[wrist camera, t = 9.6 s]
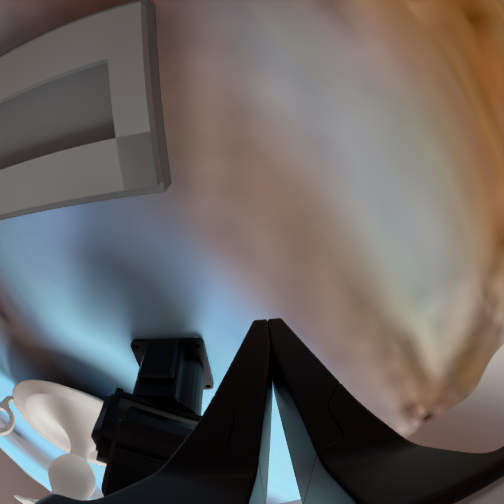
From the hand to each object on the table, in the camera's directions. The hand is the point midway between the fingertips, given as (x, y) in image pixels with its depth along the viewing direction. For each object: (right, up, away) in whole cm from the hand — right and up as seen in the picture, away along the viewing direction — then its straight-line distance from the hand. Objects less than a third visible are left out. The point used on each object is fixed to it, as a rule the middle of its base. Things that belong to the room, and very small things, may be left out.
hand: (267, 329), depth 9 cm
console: (-19, +11, +7) cm, 23 cm away
